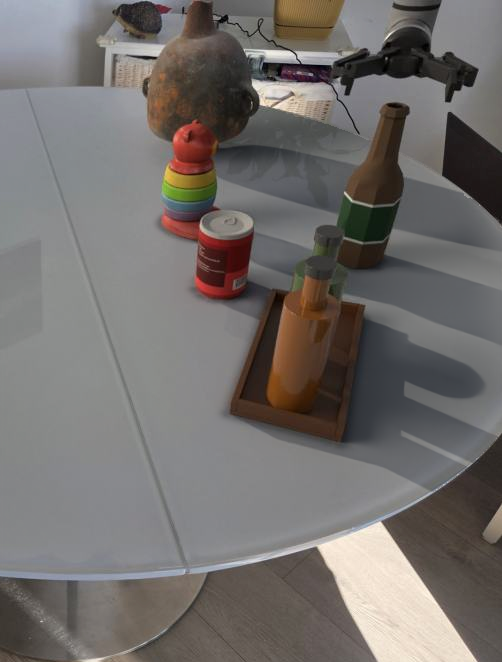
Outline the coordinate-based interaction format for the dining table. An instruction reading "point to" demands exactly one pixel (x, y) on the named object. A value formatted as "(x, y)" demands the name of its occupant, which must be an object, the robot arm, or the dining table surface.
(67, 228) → the dining table surface
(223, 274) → the canned food
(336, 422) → the tray
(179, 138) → the stacking bear
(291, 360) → the amber bottle
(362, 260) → the beer bottle
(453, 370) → the dining table surface
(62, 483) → the dining table surface
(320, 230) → the green bottle
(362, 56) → the robot arm
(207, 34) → the jug
